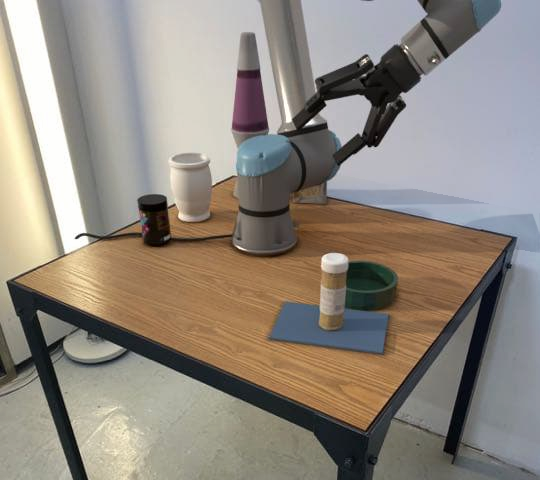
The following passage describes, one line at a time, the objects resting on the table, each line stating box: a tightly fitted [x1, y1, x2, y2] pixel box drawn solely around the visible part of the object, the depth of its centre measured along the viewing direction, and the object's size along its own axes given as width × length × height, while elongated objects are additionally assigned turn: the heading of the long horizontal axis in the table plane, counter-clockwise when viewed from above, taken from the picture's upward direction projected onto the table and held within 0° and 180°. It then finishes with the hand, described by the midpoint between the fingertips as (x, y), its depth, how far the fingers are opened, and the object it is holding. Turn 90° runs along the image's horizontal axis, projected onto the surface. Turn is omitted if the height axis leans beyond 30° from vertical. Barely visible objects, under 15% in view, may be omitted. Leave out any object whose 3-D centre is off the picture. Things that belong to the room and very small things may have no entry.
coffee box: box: [292, 181, 328, 205], centre depth 153 cm, size 9×6×16 cm
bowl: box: [344, 260, 399, 312], centre depth 113 cm, size 14×14×4 cm
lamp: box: [230, 31, 270, 199], centre depth 150 cm, size 11×11×40 cm
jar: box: [167, 152, 213, 223], centre depth 143 cm, size 11×10×15 cm
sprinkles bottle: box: [319, 252, 349, 331], centre depth 100 cm, size 5×5×13 cm
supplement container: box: [136, 193, 172, 248], centre depth 132 cm, size 7×7×10 cm
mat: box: [268, 301, 390, 355], centre depth 104 cm, size 20×13×1 cm, turn 76°
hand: (316, 144), depth 107 cm, fingers open, 13 cm apart
